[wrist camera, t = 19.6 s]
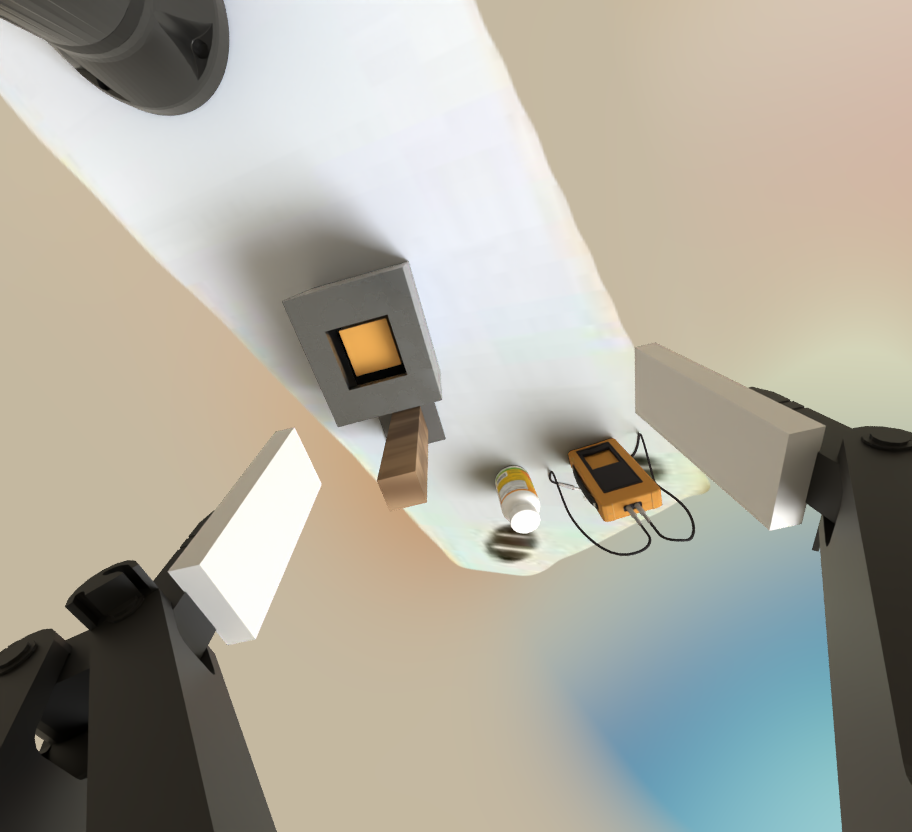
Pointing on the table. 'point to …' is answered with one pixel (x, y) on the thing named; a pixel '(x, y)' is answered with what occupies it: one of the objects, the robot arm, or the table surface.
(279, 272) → the table surface
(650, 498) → the multimeter
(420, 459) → the brown rectangular block
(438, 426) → the rest mat
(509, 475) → the supplement bottle
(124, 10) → the robot arm
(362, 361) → the button
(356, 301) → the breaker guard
